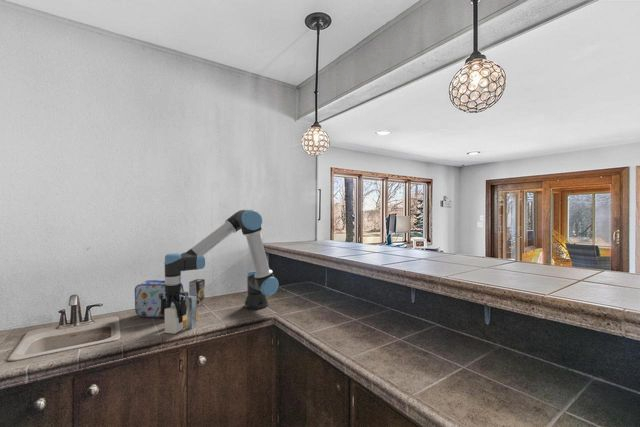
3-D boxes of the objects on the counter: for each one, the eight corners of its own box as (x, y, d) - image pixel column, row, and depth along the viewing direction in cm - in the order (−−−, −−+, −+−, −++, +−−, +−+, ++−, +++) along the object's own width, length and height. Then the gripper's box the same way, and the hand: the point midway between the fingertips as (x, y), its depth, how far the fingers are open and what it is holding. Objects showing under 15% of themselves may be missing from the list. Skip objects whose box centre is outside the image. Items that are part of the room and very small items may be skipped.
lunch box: (187, 312, 183) (187, 277, 183) (179, 318, 173) (179, 281, 173) (142, 312, 184) (142, 277, 184) (132, 318, 173) (132, 280, 173)
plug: (191, 318, 173) (190, 297, 173) (200, 318, 172) (200, 298, 171) (164, 332, 152) (164, 309, 152) (174, 333, 151) (174, 310, 151)
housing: (196, 326, 162) (196, 292, 162) (191, 328, 158) (191, 294, 158) (173, 324, 165) (173, 290, 165) (168, 326, 161) (168, 292, 161)
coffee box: (197, 306, 195) (197, 282, 195) (188, 306, 196) (188, 281, 196) (205, 302, 204) (205, 279, 204) (196, 302, 205) (196, 278, 205)
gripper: (193, 282, 156) (194, 327, 156) (162, 281, 160) (162, 324, 160) (184, 286, 148) (184, 332, 149) (151, 284, 152) (152, 329, 153)
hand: (173, 328), depth 154 cm, fingers closed on plug, 6 cm apart
